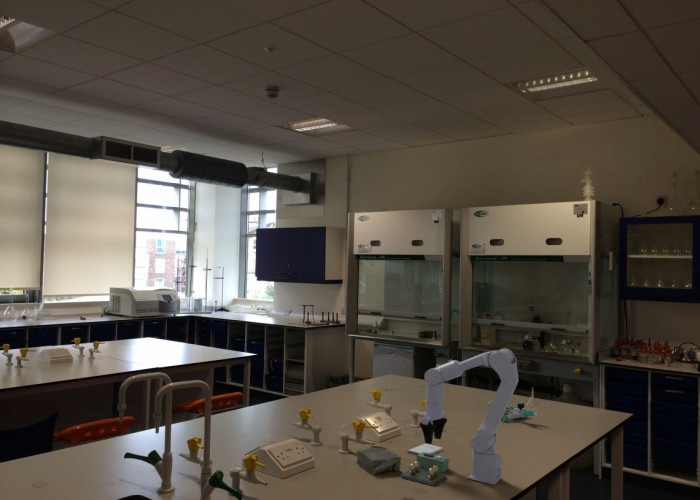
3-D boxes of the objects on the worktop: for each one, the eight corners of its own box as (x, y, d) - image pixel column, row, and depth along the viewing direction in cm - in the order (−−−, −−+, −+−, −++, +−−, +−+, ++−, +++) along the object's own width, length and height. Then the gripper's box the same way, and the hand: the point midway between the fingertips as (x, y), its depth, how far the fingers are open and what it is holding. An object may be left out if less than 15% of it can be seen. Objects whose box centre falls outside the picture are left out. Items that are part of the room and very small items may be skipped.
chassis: (446, 477, 192) (446, 465, 192) (433, 485, 184) (433, 473, 184) (414, 469, 198) (414, 457, 199) (400, 477, 190) (401, 465, 190)
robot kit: (524, 429, 257) (525, 408, 257) (482, 417, 277) (482, 397, 278) (549, 424, 268) (550, 404, 268) (507, 412, 288) (507, 393, 288)
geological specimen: (374, 461, 191) (354, 446, 204) (374, 479, 191) (353, 463, 205) (401, 456, 196) (379, 442, 209) (401, 474, 196) (379, 458, 209)
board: (448, 469, 201) (448, 456, 201) (442, 473, 196) (442, 459, 197) (422, 463, 206) (423, 450, 206) (416, 467, 202) (416, 453, 202)
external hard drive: (407, 454, 217) (424, 447, 227) (426, 459, 212) (442, 451, 221) (407, 449, 217) (424, 442, 227) (426, 454, 212) (443, 447, 222)
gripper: (432, 397, 210) (431, 434, 210) (414, 404, 198) (413, 443, 198) (450, 400, 206) (449, 438, 206) (433, 407, 194) (432, 447, 194)
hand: (433, 441), depth 202 cm, fingers open, 7 cm apart
